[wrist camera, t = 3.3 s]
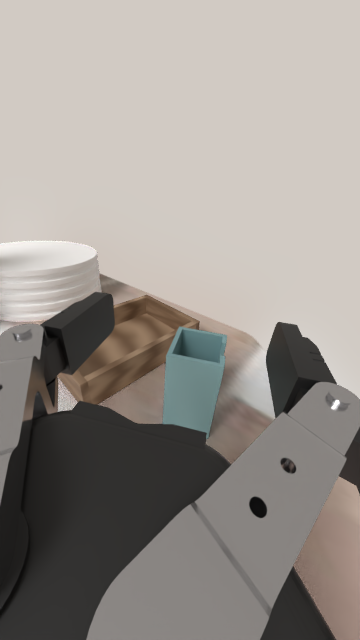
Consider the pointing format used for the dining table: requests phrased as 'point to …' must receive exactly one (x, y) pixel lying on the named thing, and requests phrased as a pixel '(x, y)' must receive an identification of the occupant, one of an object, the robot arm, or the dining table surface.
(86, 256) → the plate stack
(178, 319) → the tray
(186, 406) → the teal open box
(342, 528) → the dining table surface
